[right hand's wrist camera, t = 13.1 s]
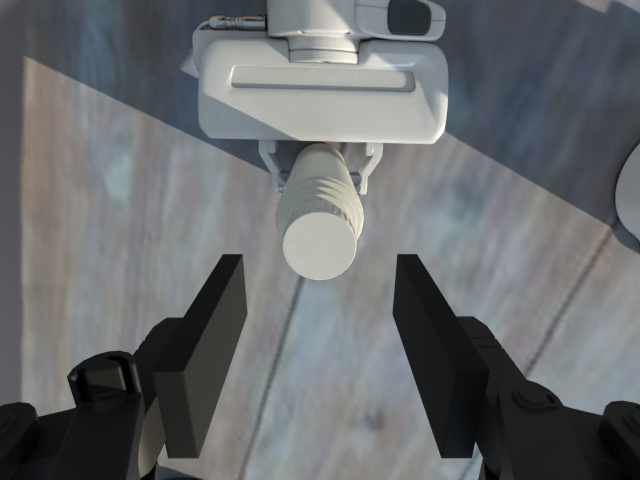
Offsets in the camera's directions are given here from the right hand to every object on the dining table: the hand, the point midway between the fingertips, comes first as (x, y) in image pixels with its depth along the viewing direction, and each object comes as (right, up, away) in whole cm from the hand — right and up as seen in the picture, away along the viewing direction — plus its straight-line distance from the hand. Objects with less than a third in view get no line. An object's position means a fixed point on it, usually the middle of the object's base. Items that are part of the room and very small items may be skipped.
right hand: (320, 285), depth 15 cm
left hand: (0, +6, +19) cm, 20 cm away
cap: (0, +2, +4) cm, 4 cm away
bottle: (0, +9, +24) cm, 26 cm away
